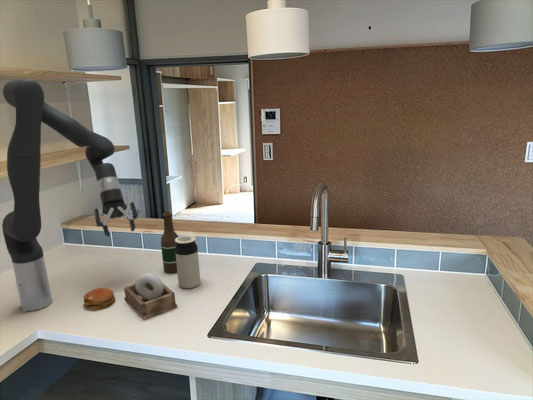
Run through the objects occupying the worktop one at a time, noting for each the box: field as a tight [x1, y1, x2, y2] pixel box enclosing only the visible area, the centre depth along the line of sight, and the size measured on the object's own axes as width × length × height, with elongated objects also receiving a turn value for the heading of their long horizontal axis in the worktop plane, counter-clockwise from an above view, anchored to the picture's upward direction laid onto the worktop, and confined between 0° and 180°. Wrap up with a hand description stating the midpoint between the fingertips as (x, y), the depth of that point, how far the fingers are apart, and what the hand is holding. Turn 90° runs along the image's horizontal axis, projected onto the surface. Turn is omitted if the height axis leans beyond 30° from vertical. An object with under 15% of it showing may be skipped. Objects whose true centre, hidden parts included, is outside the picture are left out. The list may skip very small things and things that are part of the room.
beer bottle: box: [160, 211, 179, 275], centre depth 161 cm, size 8×8×24 cm
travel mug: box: [175, 234, 201, 289], centre depth 149 cm, size 8×8×18 cm
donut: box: [134, 272, 164, 301], centre depth 137 cm, size 10×4×10 cm, turn 77°
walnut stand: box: [123, 282, 178, 321], centre depth 138 cm, size 12×17×5 cm
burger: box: [83, 287, 116, 311], centre depth 139 cm, size 10×9×5 cm
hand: (120, 233), depth 146 cm, fingers open, 8 cm apart
